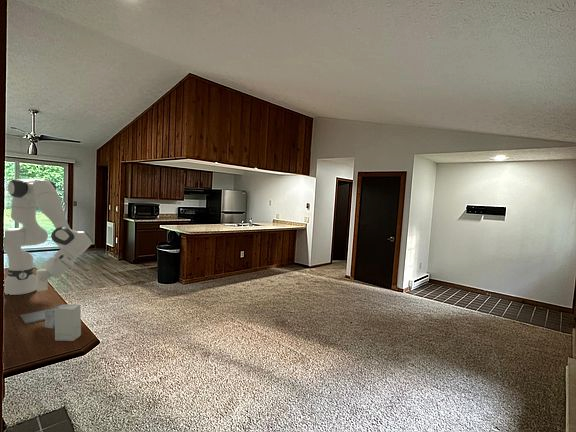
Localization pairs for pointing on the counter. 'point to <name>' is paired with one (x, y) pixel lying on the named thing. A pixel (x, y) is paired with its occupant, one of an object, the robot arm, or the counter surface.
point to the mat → (33, 317)
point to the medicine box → (50, 318)
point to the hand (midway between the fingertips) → (40, 279)
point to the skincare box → (67, 322)
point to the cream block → (40, 284)
